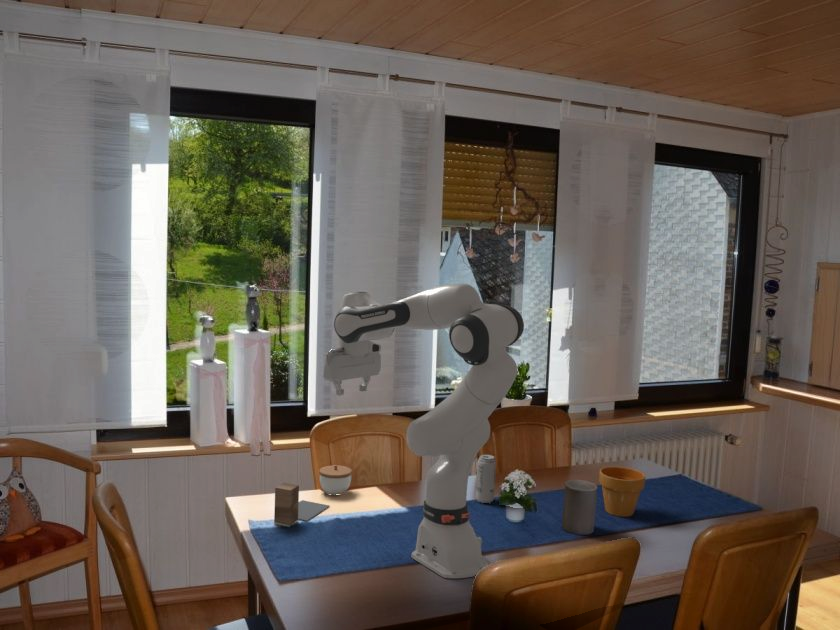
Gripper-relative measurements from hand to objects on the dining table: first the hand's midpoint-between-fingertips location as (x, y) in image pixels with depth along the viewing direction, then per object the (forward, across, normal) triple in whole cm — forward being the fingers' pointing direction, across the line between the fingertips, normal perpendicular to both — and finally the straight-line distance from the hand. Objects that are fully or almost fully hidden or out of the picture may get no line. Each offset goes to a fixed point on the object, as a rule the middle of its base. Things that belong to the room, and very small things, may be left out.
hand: (351, 393), depth 217 cm
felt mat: (+39, -4, +14) cm, 42 cm away
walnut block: (+39, -14, +10) cm, 43 cm away
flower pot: (+38, +70, -55) cm, 97 cm away
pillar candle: (+38, +47, -52) cm, 80 cm away
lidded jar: (+40, +14, +20) cm, 46 cm away
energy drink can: (+39, +45, -19) cm, 62 cm away
